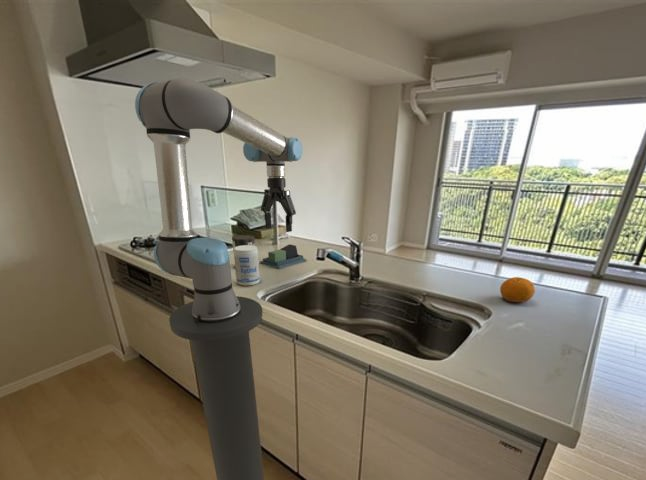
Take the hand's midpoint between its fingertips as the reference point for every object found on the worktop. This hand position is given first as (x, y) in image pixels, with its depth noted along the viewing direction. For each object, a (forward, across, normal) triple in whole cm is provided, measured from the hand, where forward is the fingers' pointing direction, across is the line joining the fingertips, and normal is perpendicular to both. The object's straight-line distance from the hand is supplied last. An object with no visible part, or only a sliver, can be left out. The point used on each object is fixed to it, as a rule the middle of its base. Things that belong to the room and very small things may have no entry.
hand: (278, 229), depth 148 cm
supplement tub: (+19, -3, +20) cm, 28 cm away
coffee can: (+18, +17, +7) cm, 26 cm away
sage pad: (+17, +9, -6) cm, 20 cm away
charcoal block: (+16, +9, -14) cm, 23 cm away
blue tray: (+18, +9, -10) cm, 22 cm away
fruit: (+18, -90, -32) cm, 97 cm away
